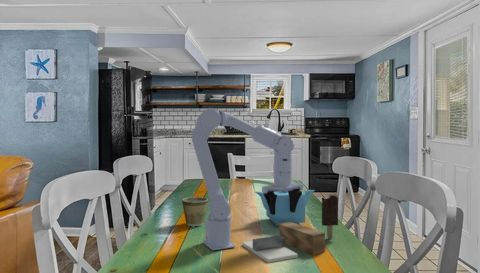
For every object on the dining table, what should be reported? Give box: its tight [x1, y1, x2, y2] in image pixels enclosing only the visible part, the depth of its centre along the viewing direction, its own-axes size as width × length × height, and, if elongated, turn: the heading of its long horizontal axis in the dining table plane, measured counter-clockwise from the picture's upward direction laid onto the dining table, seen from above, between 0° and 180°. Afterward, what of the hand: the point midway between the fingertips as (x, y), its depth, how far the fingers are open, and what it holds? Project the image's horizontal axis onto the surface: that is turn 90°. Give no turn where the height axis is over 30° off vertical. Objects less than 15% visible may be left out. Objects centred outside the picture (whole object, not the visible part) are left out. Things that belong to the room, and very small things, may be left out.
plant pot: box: [181, 196, 209, 227], centre depth 147 cm, size 13×10×10 cm
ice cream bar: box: [321, 194, 339, 240], centre depth 127 cm, size 5×2×15 cm, turn 95°
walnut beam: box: [278, 222, 326, 256], centre depth 119 cm, size 16×5×6 cm, turn 33°
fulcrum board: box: [241, 234, 299, 263], centre depth 115 cm, size 17×10×4 cm, turn 25°
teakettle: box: [254, 189, 316, 228], centre depth 148 cm, size 19×19×15 cm
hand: (282, 213), depth 122 cm, fingers open, 7 cm apart
